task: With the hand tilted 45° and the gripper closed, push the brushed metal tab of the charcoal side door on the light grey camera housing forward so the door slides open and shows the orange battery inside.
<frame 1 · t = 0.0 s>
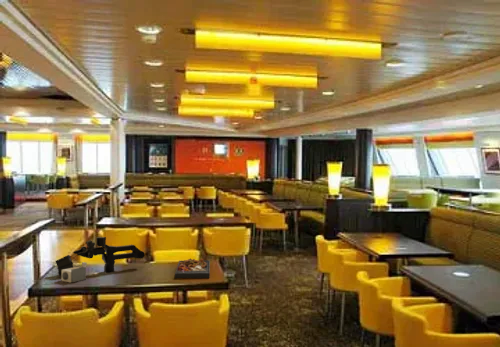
hand: (75, 253, 362), 17 cm above the table, tool horizontal, fingers open, 9 cm apart
camera housing: (73, 279, 351), on the table
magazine: (64, 275, 364), on the table
side door: (78, 272, 347), point 6 cm above the table, slide at 0.0 cm
food platter: (193, 272, 379), on the table
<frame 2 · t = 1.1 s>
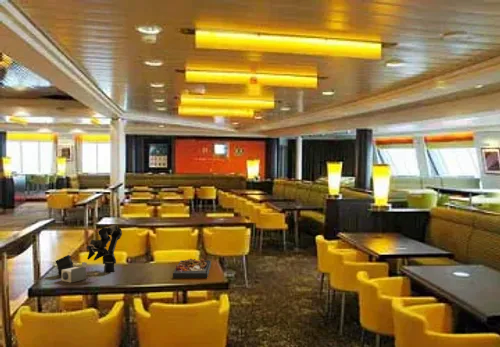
hand: (90, 259, 356), 13 cm above the table, tool tilted 45°, fingers open, 7 cm apart
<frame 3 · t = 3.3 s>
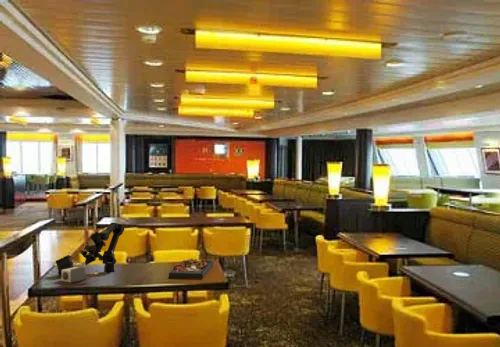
hand: (84, 265, 351), 10 cm above the table, tool tilted 45°, fingers closed, pressing on side door
side door: (77, 272, 347), point 6 cm above the table, slide at 0.7 cm, touching gripper
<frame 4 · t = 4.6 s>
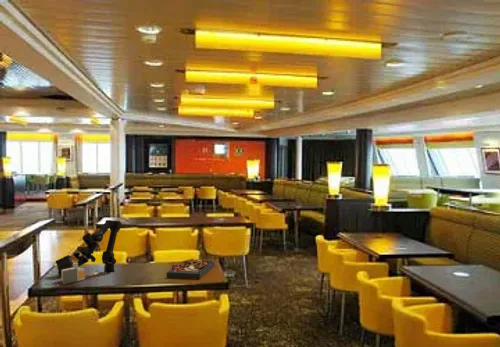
hand: (77, 266, 346), 10 cm above the table, tool tilted 45°, fingers closed, pressing on side door
side door: (70, 274, 342), point 6 cm above the table, slide at 7.0 cm, touching gripper
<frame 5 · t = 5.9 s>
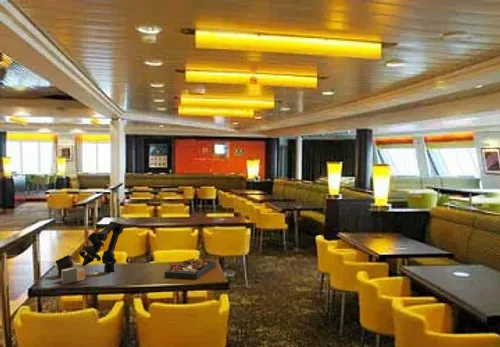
hand: (82, 265, 350), 10 cm above the table, tool tilted 45°, fingers closed
side door: (69, 274, 341), point 6 cm above the table, slide at 7.3 cm
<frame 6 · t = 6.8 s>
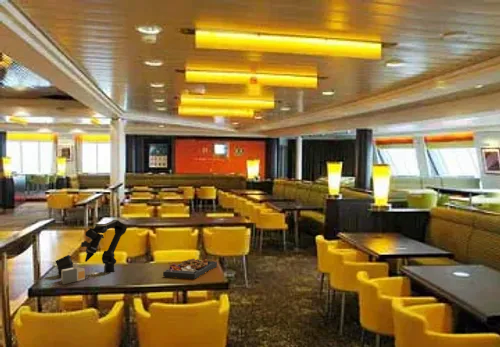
hand: (85, 261, 357), 12 cm above the table, tool tilted 30°, fingers closed
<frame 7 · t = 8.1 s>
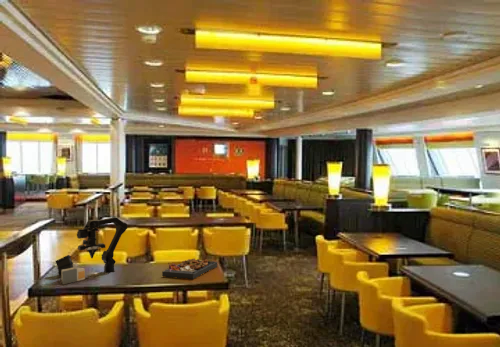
hand: (91, 258, 367), 12 cm above the table, tool pointing down, fingers closed
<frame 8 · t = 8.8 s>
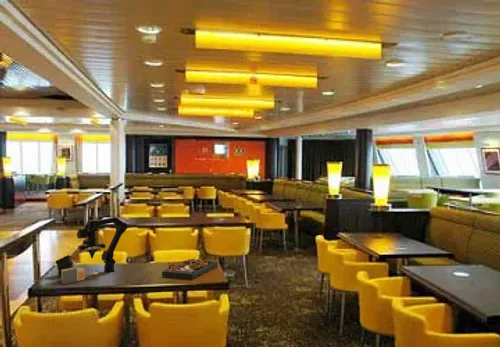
hand: (91, 258, 367), 12 cm above the table, tool pointing down, fingers closed
at the end: side door slide at 7.3 cm; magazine moved 0.3 cm from its start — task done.
